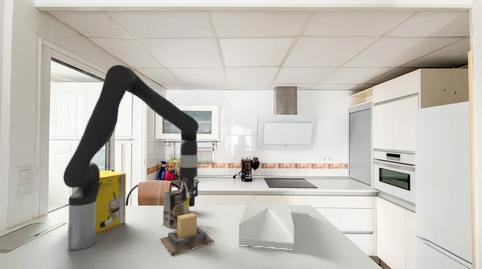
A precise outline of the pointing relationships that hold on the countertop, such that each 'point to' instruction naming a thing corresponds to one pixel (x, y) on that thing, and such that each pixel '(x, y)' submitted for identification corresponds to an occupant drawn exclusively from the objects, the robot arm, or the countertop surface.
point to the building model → (267, 225)
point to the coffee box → (172, 208)
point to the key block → (186, 225)
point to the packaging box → (110, 200)
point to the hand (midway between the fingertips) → (187, 203)
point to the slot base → (185, 241)
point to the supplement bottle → (187, 203)
